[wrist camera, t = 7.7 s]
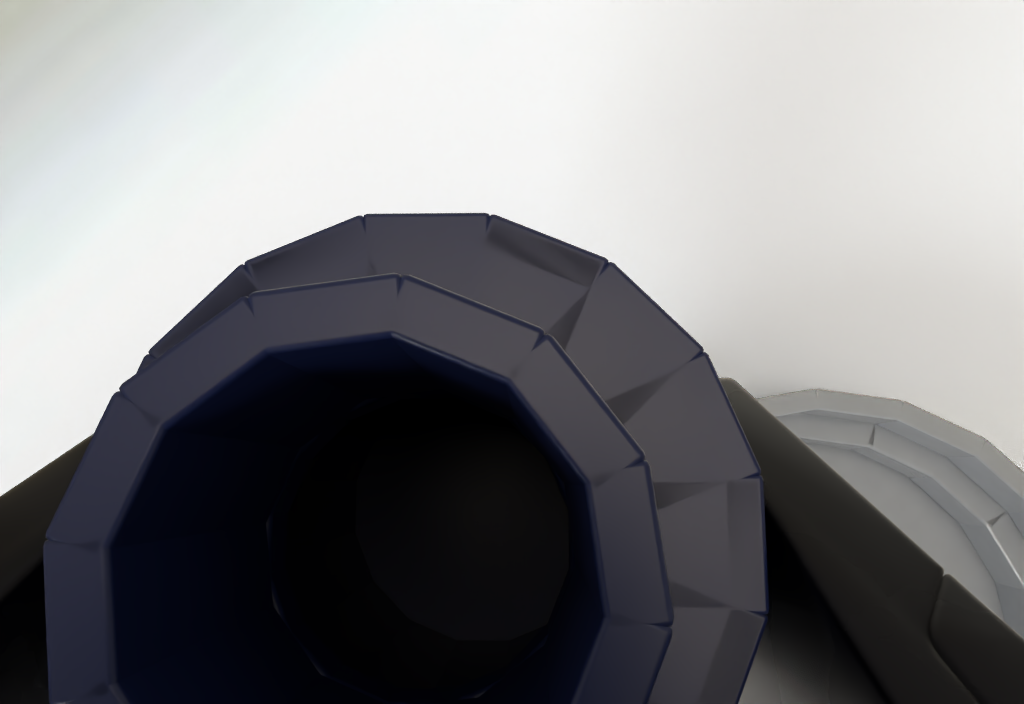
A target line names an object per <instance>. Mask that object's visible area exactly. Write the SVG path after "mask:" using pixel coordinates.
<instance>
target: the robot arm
mask: <svg viewBox="0 0 1024 704" xmlns="http://www.w3.org/2000/svg"><path fill="white" fill-rule="evenodd" d="M719 379H720V382H721V384H722V386H723V388H724V390H725V392H726V395H727V397H728V399H729V401H730V403H731V405H732V408H733V410H734V412H735V414H736V416H737V419H738V421H739V423H740V425H741V427H742V429H743V432H744V434H745V436H746V438H747V440H748V442H749V445H750V447H751V449H752V451H753V453H754V455H755V458H756V460H757V462H758V464H759V466H760V469H761V474H760V475H761V476H762V478H763V484H764V506H765V527H766V548H767V569H768V590H769V612H768V614H766V615H767V616H768V621H767V624H766V627H765V630H764V633H763V636H762V638H761V641H760V644H759V647H758V650H757V652H756V655H755V658H754V661H753V664H752V666H751V669H750V672H749V675H748V678H747V681H746V683H745V686H744V689H743V692H742V695H741V697H740V700H739V703H738V704H1024V638H1023V637H1022V636H1021V635H1019V634H1018V633H1017V632H1016V631H1015V630H1014V629H1012V628H1011V627H1010V626H1009V625H1008V624H1007V623H1006V622H1004V621H1003V620H1002V619H1001V618H1000V617H999V616H997V615H996V614H995V613H994V612H993V611H992V610H990V609H989V608H988V607H987V606H986V605H985V604H983V603H982V602H981V601H980V600H979V599H978V598H977V597H975V596H974V595H973V594H972V593H971V592H970V591H969V590H968V589H967V588H965V587H964V586H963V585H962V584H961V583H960V582H959V581H958V580H957V579H955V578H954V577H953V576H952V575H951V574H945V575H944V568H943V567H942V566H941V565H940V564H938V563H937V562H936V561H935V560H934V559H933V558H932V557H931V556H930V555H928V554H927V553H926V552H925V551H924V550H923V549H922V548H921V547H920V546H918V545H917V544H916V543H915V542H914V541H913V540H912V539H911V538H910V537H908V536H907V535H906V534H905V533H904V532H903V531H902V530H901V529H900V528H898V527H897V526H896V525H895V524H894V523H893V522H892V521H891V520H890V519H888V518H887V517H886V516H885V515H884V514H883V513H882V512H881V511H880V510H878V509H877V508H876V507H875V506H874V505H873V504H872V503H871V502H870V501H868V500H867V499H866V498H865V497H864V496H863V495H862V494H861V493H860V492H858V491H857V490H856V489H855V488H854V487H853V486H852V485H851V484H850V483H848V482H847V481H846V480H845V479H844V478H843V477H842V476H841V475H840V474H839V473H837V472H836V471H835V470H834V469H833V468H832V467H831V466H830V465H829V464H827V463H826V462H825V461H824V460H823V459H822V458H821V457H820V456H819V455H817V454H816V453H815V452H814V451H813V450H812V449H811V448H810V447H809V446H807V445H806V444H805V443H804V442H803V441H802V440H801V439H800V438H799V437H797V436H796V435H795V434H794V433H793V432H792V431H791V430H790V429H789V428H787V427H786V426H785V425H784V424H783V423H782V422H781V421H780V420H779V419H777V418H776V417H775V416H774V415H773V414H772V413H771V412H770V411H769V410H767V409H766V408H765V407H764V406H763V405H762V404H761V403H760V402H759V401H757V400H756V399H755V398H754V397H753V396H752V395H751V394H750V393H749V392H747V391H746V390H745V389H744V388H743V387H742V386H741V385H740V384H739V383H737V382H736V381H735V380H733V379H731V378H719ZM92 437H93V434H92V435H91V436H90V437H88V438H87V439H85V440H84V441H82V442H81V443H79V444H78V445H76V446H75V447H73V448H72V449H70V450H69V451H67V452H66V453H64V454H63V455H61V456H60V457H58V458H57V459H55V460H54V461H52V462H51V463H49V464H48V465H46V466H45V467H43V468H42V469H40V470H39V471H38V472H36V473H35V474H33V475H32V476H30V477H29V478H27V479H26V480H24V481H23V482H21V483H20V484H18V485H17V486H15V487H14V488H12V489H11V490H9V491H8V492H6V493H5V494H3V495H2V496H0V704H50V703H49V689H48V664H47V640H46V615H45V590H44V565H43V545H44V542H45V541H47V540H48V539H47V538H46V531H47V529H48V527H49V525H50V523H51V521H52V519H53V517H54V515H55V513H56V511H57V509H58V507H59V504H60V502H61V500H62V498H63V496H64V494H65V492H66V490H67V488H68V486H69V484H70V482H71V480H72V478H73V476H74V474H75V472H76V469H77V467H78V465H79V463H80V461H81V459H82V457H83V455H84V453H85V451H86V449H87V447H88V445H89V443H90V441H91V439H92ZM943 575H944V576H943Z"/></svg>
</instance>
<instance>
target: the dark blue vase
mask: <svg viewBox="0 0 1024 704" xmlns="http://www.w3.org/2000/svg"><path fill="white" fill-rule="evenodd" d="M703 351H704V350H703V347H702V346H701V345H700V344H699V343H698V342H697V341H696V340H695V339H694V338H693V337H691V336H690V335H689V334H688V333H687V332H686V331H685V330H684V329H683V328H682V327H681V326H680V325H679V324H678V323H677V322H676V321H675V320H673V319H672V318H671V317H670V316H669V315H668V314H667V313H666V312H665V311H664V310H663V309H662V308H661V307H660V306H659V305H658V304H657V303H655V302H654V301H653V300H652V299H651V298H650V297H649V296H648V295H647V294H646V293H645V292H644V291H643V290H642V289H641V288H640V287H639V286H637V285H636V284H635V283H634V282H633V281H632V280H631V279H630V278H629V277H628V276H627V275H626V274H625V273H624V272H623V271H622V270H621V269H619V268H618V267H617V266H616V265H615V264H614V263H612V262H609V263H608V260H607V259H606V258H604V257H602V256H599V255H597V254H594V253H592V252H589V251H586V250H584V249H581V248H579V247H576V246H574V245H571V244H569V243H566V242H563V241H561V240H558V239H556V238H553V237H551V236H548V235H546V234H543V233H540V232H538V231H535V230H533V229H530V228H528V227H525V226H523V225H520V224H517V223H515V222H512V221H510V220H507V219H505V218H502V217H500V216H497V215H491V216H490V215H489V214H487V213H421V214H366V215H364V217H363V216H356V217H354V218H351V219H349V220H346V221H344V222H341V223H339V224H336V225H334V226H332V227H329V228H327V229H324V230H322V231H319V232H317V233H314V234H312V235H309V236H307V237H304V238H302V239H299V240H297V241H294V242H292V243H289V244H287V245H284V246H282V247H279V248H277V249H274V250H272V251H270V252H267V253H265V254H262V255H260V256H257V257H255V258H252V259H250V260H247V261H246V262H245V265H243V264H242V265H240V266H238V267H237V268H236V269H235V270H234V271H233V272H232V273H231V274H230V275H229V276H228V277H227V278H226V279H224V280H223V281H222V282H221V283H220V284H219V285H218V286H217V287H216V288H215V289H214V290H213V291H212V292H211V293H210V294H208V295H207V296H206V297H205V298H204V299H203V300H202V301H201V302H200V303H199V304H198V305H197V306H196V307H195V308H194V309H192V310H191V311H190V312H189V313H188V314H187V315H186V316H185V317H184V318H183V319H182V320H181V321H180V322H179V323H178V324H176V325H175V326H174V327H173V328H172V329H171V330H170V331H169V332H168V333H167V334H166V335H165V336H164V337H163V338H162V339H160V340H159V341H158V342H157V343H156V344H155V345H154V346H153V347H152V348H151V349H150V350H149V354H147V355H146V356H145V357H144V359H143V361H142V363H141V365H140V367H139V369H138V371H137V373H136V374H135V375H134V376H132V377H131V378H130V379H128V380H127V381H126V382H124V383H123V384H122V385H121V386H120V388H119V389H120V391H118V392H116V393H115V394H114V395H113V396H112V397H111V400H110V402H109V404H108V406H107V408H106V410H105V412H104V414H103V416H102V418H101V420H100V422H99V424H98V426H97V428H96V430H95V432H94V434H93V437H92V439H91V441H90V443H89V445H88V447H87V449H86V451H85V453H84V455H83V457H82V459H81V461H80V463H79V465H78V467H77V469H76V472H75V474H74V476H73V478H72V480H71V482H70V484H69V486H68V488H67V490H66V492H65V494H64V496H63V498H62V500H61V502H60V504H59V507H58V509H57V511H56V513H55V515H54V517H53V519H52V521H51V523H50V525H49V527H48V529H47V531H46V538H47V539H48V540H47V541H45V542H44V545H43V565H44V590H45V615H46V640H47V664H48V689H49V703H50V704H738V703H739V700H740V697H741V695H742V692H743V689H744V686H745V683H746V681H747V678H748V675H749V672H750V669H751V666H752V664H753V661H754V658H755V655H756V652H757V650H758V647H759V644H760V641H761V638H762V636H763V633H764V630H765V627H766V624H767V621H768V616H767V615H766V614H768V612H769V590H768V569H767V548H766V527H765V506H764V484H763V478H762V476H761V475H760V474H761V469H760V466H759V464H758V462H757V460H756V458H755V455H754V453H753V451H752V449H751V447H750V445H749V442H748V440H747V438H746V436H745V434H744V432H743V429H742V427H741V425H740V423H739V421H738V419H737V416H736V414H735V412H734V410H733V408H732V405H731V403H730V401H729V399H728V397H727V395H726V392H725V390H724V388H723V386H722V384H721V382H720V379H719V377H718V375H717V373H716V371H715V368H714V366H713V364H712V362H711V360H710V358H709V355H708V354H707V353H706V352H703Z"/></svg>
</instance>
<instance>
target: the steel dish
mask: <svg viewBox="0 0 1024 704" xmlns="http://www.w3.org/2000/svg"><path fill="white" fill-rule="evenodd" d="M756 400H757V401H759V402H760V403H761V404H762V405H763V406H764V407H765V408H766V409H767V410H769V411H770V412H771V413H772V414H773V415H774V416H775V417H776V418H777V419H779V420H780V421H781V422H782V423H783V424H784V425H785V426H786V427H787V428H789V429H790V430H791V431H792V432H793V433H794V434H795V435H796V436H797V437H799V438H800V439H801V440H802V441H803V442H804V443H805V444H806V445H807V446H809V447H810V448H811V449H812V450H813V451H814V452H815V453H816V454H817V455H819V456H820V457H821V458H822V459H823V460H824V461H825V462H826V463H827V464H829V465H830V466H831V467H832V468H833V469H834V470H835V471H836V472H837V473H839V474H840V475H841V476H842V477H843V478H844V479H845V480H846V481H847V482H848V483H850V484H851V485H852V486H853V487H854V488H855V489H856V490H857V491H858V492H860V493H861V494H862V495H863V496H864V497H865V498H866V499H867V500H868V501H870V502H871V503H872V504H873V505H874V506H875V507H876V508H877V509H878V510H880V511H881V512H882V513H883V514H884V515H885V516H886V517H887V518H888V519H890V520H891V521H892V522H893V523H894V524H895V525H896V526H897V527H898V528H900V529H901V530H902V531H903V532H904V533H905V534H906V535H907V536H908V537H910V538H911V539H912V540H913V541H914V542H915V543H916V544H917V545H918V546H920V547H921V548H922V549H923V550H924V551H925V552H926V553H927V554H928V555H930V556H931V557H932V558H933V559H934V560H935V561H936V562H937V563H938V564H940V565H941V566H942V567H943V568H944V575H945V574H951V575H952V576H953V577H954V578H955V579H957V580H958V581H959V582H960V583H961V584H962V585H963V586H964V587H965V588H967V589H968V590H969V591H970V592H971V593H972V594H973V595H974V596H975V597H977V598H978V599H979V600H980V601H981V602H982V603H983V604H985V605H986V606H987V607H988V608H989V609H990V610H992V611H993V612H994V613H995V614H996V615H997V616H999V617H1000V618H1001V619H1002V620H1003V621H1004V622H1006V623H1007V624H1008V625H1009V626H1010V627H1011V628H1012V629H1014V630H1015V631H1016V632H1017V633H1018V634H1019V635H1021V636H1022V637H1023V638H1024V472H1023V471H1022V470H1021V469H1019V468H1018V467H1017V466H1016V465H1015V464H1014V463H1013V462H1012V461H1010V460H1009V459H1008V458H1007V457H1006V456H1005V455H1004V454H1003V453H1001V452H1000V451H999V450H998V449H997V448H996V447H995V446H994V445H992V444H991V443H990V442H989V441H988V440H986V439H985V438H983V437H981V436H979V435H977V434H975V433H973V432H971V431H968V430H966V429H964V428H962V427H960V426H958V425H955V424H953V423H951V422H949V421H947V420H945V419H943V418H940V417H938V416H936V415H934V414H932V413H930V412H927V411H925V410H923V409H921V408H919V407H917V406H915V405H912V404H910V403H908V402H906V401H901V400H897V399H890V398H882V397H875V396H868V395H860V394H853V393H845V392H838V391H831V390H823V389H809V390H803V391H798V392H792V393H786V394H781V395H775V396H770V397H764V398H758V399H756ZM944 575H943V576H944Z"/></svg>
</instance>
